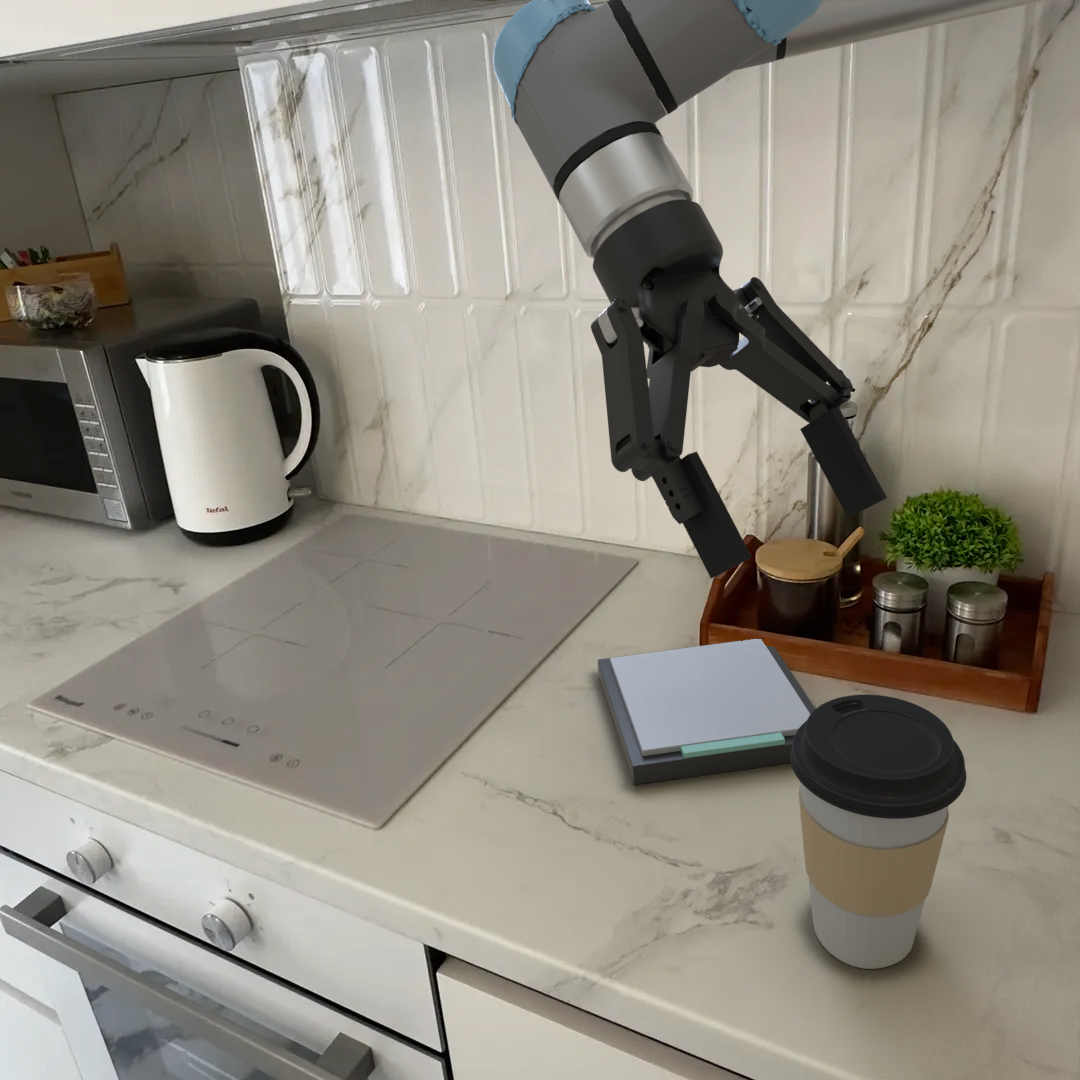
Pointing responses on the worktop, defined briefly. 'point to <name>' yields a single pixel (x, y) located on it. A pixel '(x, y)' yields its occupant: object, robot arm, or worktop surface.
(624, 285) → the robot arm
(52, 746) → the worktop surface
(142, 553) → the worktop surface
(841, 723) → the coffee cup
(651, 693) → the kitchen scale
